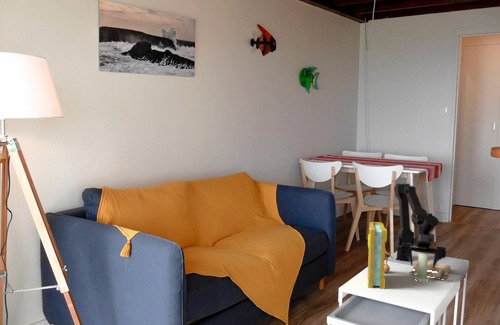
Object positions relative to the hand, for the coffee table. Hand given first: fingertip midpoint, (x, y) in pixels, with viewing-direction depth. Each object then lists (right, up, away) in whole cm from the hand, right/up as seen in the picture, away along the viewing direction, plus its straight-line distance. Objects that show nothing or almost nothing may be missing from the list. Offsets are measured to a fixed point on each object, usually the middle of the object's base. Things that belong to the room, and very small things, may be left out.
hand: (422, 266), depth 207 cm
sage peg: (0, -7, +2) cm, 7 cm away
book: (-21, -7, -1) cm, 23 cm away
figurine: (-14, -6, +11) cm, 19 cm away
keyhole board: (+9, -6, +14) cm, 17 cm away
